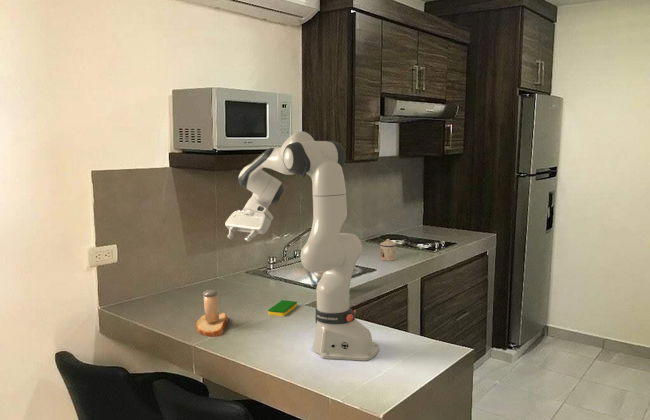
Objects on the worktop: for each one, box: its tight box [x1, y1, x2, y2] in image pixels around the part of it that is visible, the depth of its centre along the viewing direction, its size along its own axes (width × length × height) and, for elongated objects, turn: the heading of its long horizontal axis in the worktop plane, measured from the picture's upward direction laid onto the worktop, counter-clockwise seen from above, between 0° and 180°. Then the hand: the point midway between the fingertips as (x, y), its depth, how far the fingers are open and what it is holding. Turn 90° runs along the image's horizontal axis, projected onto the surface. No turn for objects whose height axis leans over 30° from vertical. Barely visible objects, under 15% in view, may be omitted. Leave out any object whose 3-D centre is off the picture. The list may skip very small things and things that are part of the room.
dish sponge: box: [267, 299, 298, 317], centre depth 230 cm, size 7×14×2 cm, turn 159°
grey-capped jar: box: [202, 289, 220, 322], centre depth 211 cm, size 5×5×11 cm
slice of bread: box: [195, 312, 229, 338], centre depth 212 cm, size 18×18×4 cm
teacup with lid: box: [379, 238, 397, 262], centre depth 313 cm, size 12×9×12 cm
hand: (238, 239), depth 219 cm, fingers open, 8 cm apart
